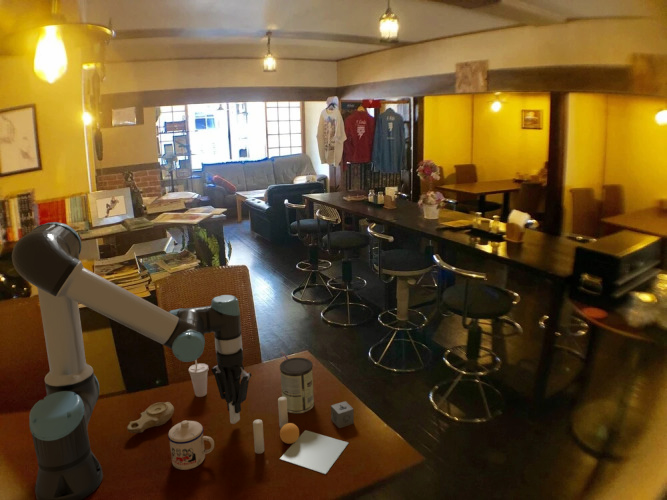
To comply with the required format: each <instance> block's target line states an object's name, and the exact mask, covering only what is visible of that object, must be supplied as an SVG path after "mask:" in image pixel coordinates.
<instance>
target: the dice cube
mask: <svg viewBox="0 0 667 500" xmlns="http://www.w3.org/2000/svg"><path fill="white" fill-rule="evenodd" d="M354 417H355V415H354V408H353V407H352V406H351V405H350V404H349V403H348V402H347V400H345V401H342V402H339V403H334V404H332V405H330V418H331V419H330V420H331V422H332V423H333V424H334V425H335V426H336V427H337V428H338V429H342V428H344V427H347V426H351V425H354V424H355V423H354V421H355V418H354Z"/></svg>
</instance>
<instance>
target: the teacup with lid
mask: <svg viewBox="0 0 667 500" xmlns="http://www.w3.org/2000/svg"><path fill="white" fill-rule="evenodd" d="M167 437H168V438H167V439H168V440H169V447H170V456H171V463H172V466H173V467H174V468H175V469H177V470H182V471H183V470H184V471H187V470H191V469H194V468H197V467H199V466H200V465H201V464H202V463H203V461H204V460H205V458H206V455H207V454H210V453H211V452H212V451H213V450H214V448H215V441H214V439H213V438H212V437H211V436H207V435H204V427H203V425H202V424H201V423H200V422H198V421H196V420H182V421H181V422H178V423H177V424H174V426H172V427H171V428H170V429H169V431H168V434H167ZM204 441H207V442H209V443H210V448H207V449H205V442H204Z"/></svg>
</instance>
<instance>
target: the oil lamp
mask: <svg viewBox="0 0 667 500" xmlns="http://www.w3.org/2000/svg"><path fill="white" fill-rule="evenodd" d="M174 412H175V406H174V405H173V404H172V403H171V402H170V401H166V402H156V403H153V404H150V406H148V407H147V408H146V409H145V410H144V411H142V412H140V418H139V419H136V420H134V421H133V420H132V421H129V424H128V425H127V426H126V429H127V431H128V432H129V433H131V434H138V433H141V434H142V433H143V432H144V431H145V430H147V429H149V428H153V427H160V426H163V425H164V424H166V423H167V422H169V420H170V419H171V418H172V416H173V414H175V413H174Z"/></svg>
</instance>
